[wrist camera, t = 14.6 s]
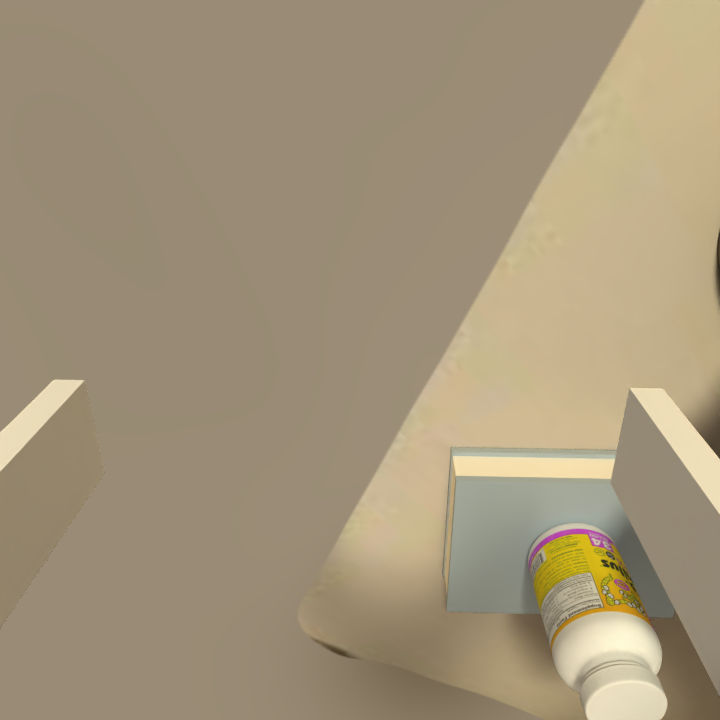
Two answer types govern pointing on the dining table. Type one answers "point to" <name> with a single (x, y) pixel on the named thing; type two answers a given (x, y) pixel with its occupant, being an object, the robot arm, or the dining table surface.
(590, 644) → the supplement bottle
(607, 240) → the dining table surface
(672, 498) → the robot arm
